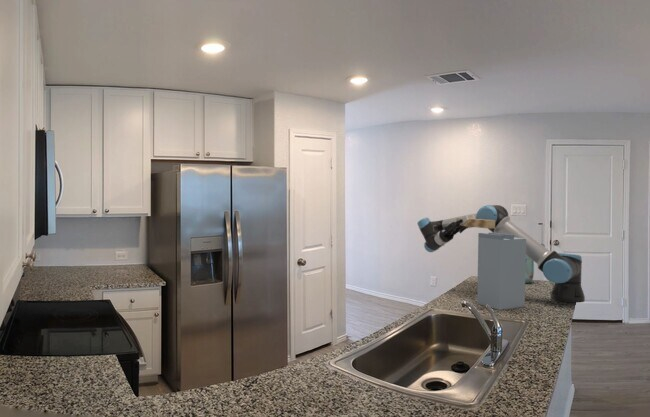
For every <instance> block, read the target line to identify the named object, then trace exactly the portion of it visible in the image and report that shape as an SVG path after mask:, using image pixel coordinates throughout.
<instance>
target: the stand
mask: <svg viewBox="0 0 650 417" xmlns="http://www.w3.org/2000/svg"><path fill="white" fill-rule="evenodd" d="M477 234H478V235H477V236H478V237H477V238H478V240H477V242H478V244H477V292H476V295H477V296H476V304H478V305H481V306H484V307H487V306H486V305H487V304H488V305H490V306H491V307H492V308H491V307H490V308H491V309H494V310H498V311H503V309H504V310H511V309H517V308H523V307H526V306H525V303H526V300H525V299H526V283H525V267H526V239H525V238H516V237H514V235H510V234H500V233H493V232H488V233H485V232H484V233H483V232H478V233H477Z"/></svg>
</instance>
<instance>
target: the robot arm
mask: <svg viewBox="0 0 650 417" xmlns="http://www.w3.org/2000/svg"><path fill="white" fill-rule="evenodd" d="M457 218H461V219H460V220H459V221H457ZM468 218H471V219H484V220H495V228H490V229H489V228H487V229H488V230H489V231H490V233H500V234H510V235H514V237H516V238H525V239H526V255H527V256H528V257H529V258H530V259H532V260H533V261H534V263H536V265H537V269H538V270H540V271H541V273H542V274H543V276H544V277H545V279H546V280H548V281H549V282H551V283H554V285H553V287H552V290H551V293H550V299H551V300H554V301H558V302H564V303H575V302H576V304H577V303H584V302H585V301H586V297H585V294H584V290H583V287H582V269H583V268H582V266H583V264H582V263H583V260H582V259H583V258H582V256H581V255H580V254H572V253H560V252H557V251H555V250H549V249H548V248H546V247H545V246H544V245H542V244H541V242H538V241H537V240H536V239H534V238H533V237H532V236H531V235H530V234H528V233H527V232H525V231H524V230H523V229H522V228H520V227H519V226H517V225H516V224H514V223H513V222H512V221H511V217H510V216H509V213H508V210H507V208H505V207H504V206H502V205H497V204H495V205H494V204H493V205H492V204H487V205H484V206H481V207H479V209H478V210H477V212H476V213H472V214H471V213H470V214H467V215H461V216H457V217H451V218H446V219H440V220H436V221H434V220H433V221H431V220H430V218H429V217H424V218H421V219H420V220H418V221H417V226H418V229H419V231H420V233H421V234H422V237H423V238H424V240H425V242H424V244H423V247H424V249H425V251H427V252H428V253H434V252H436V251H438V250H439V249H440V248H441V247H443V246H445V245H446V244H447V243H449V242H450V241H452V240H453V239H454V236H455V235H457V234H458V233H459V234H461V233H462V234H463V232H464V231H465V230H467V229H471V228H473V227H467V226H459V224H460V225H462V224H464V223H465V222H466V221H468V220H469V219H468Z"/></svg>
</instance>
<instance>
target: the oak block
mask: <svg viewBox="0 0 650 417" xmlns="http://www.w3.org/2000/svg"><path fill="white" fill-rule="evenodd" d="M460 219H461V218H457V221H459V220H460ZM468 219H469V220H468V221H466V222H465V223H464V224H462V225H460V224H459V226H467V227H472V228H480V229H488V228H489V229H490V228H495V220H484V219H471V218H468ZM489 229H488V230H489Z"/></svg>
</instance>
